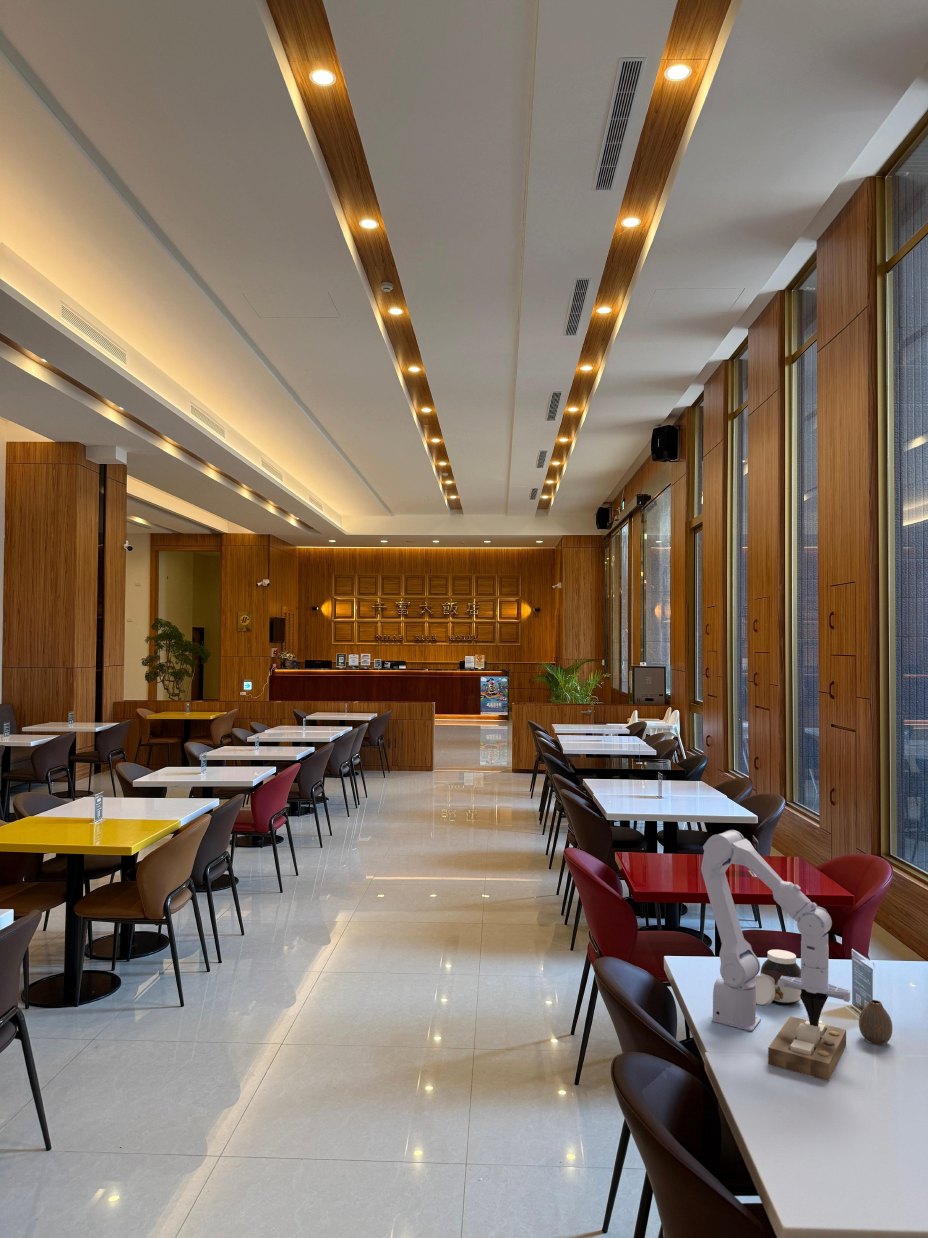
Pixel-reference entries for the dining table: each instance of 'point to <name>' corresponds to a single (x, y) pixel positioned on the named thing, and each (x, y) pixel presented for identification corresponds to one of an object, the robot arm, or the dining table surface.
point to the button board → (805, 1064)
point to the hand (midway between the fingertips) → (814, 1026)
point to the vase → (875, 1023)
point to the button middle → (808, 1033)
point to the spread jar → (777, 979)
